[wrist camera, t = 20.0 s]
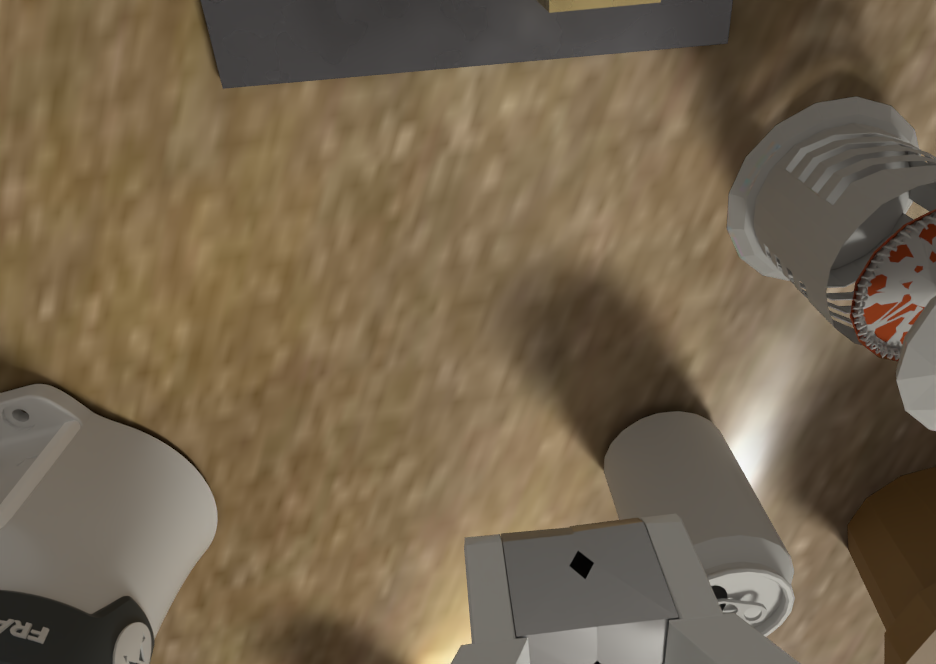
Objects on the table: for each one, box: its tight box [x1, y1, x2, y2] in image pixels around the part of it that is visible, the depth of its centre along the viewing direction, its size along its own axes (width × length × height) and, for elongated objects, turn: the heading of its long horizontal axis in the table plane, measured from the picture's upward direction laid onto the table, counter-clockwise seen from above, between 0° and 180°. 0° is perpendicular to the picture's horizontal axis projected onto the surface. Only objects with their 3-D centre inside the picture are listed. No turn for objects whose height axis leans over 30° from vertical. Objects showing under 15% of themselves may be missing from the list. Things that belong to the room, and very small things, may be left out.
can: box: [604, 411, 795, 637], centre depth 39 cm, size 8×8×12 cm
